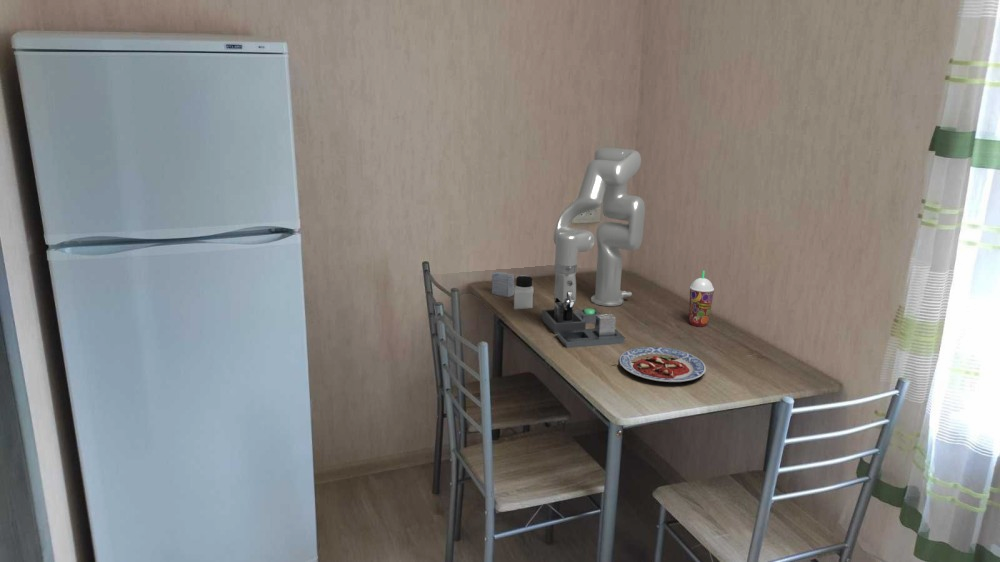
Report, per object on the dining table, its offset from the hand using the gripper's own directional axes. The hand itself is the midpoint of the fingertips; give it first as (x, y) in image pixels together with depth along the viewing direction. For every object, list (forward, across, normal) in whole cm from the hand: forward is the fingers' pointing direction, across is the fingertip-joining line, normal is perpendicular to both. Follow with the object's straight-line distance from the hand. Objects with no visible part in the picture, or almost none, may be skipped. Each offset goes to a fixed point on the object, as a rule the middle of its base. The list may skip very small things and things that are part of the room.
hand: (562, 315), depth 251 cm
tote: (+5, 0, 0) cm, 5 cm away
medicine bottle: (+5, +25, +7) cm, 26 cm away
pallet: (+5, -15, -5) cm, 16 cm away
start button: (+3, +4, -11) cm, 12 cm away
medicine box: (+5, +41, +11) cm, 43 cm away
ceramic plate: (+5, -39, -19) cm, 44 cm away
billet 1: (+4, 0, 0) cm, 4 cm away
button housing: (+4, +4, -11) cm, 13 cm away
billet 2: (+4, -15, -10) cm, 18 cm away
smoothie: (+4, -5, -50) cm, 50 cm away
